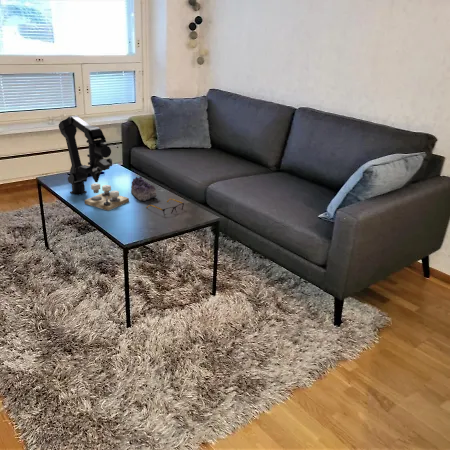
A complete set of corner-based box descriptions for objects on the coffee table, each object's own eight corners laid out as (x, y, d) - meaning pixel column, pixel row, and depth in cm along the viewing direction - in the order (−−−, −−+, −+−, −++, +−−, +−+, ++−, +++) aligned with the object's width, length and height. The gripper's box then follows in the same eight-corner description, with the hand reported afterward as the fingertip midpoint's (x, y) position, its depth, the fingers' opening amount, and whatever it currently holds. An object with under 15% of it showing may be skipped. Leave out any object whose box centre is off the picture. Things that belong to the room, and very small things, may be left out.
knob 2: (100, 193, 246) (100, 186, 244) (106, 191, 249) (106, 184, 248) (107, 195, 244) (106, 188, 242) (113, 193, 247) (112, 186, 246)
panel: (84, 203, 239) (84, 199, 238) (106, 195, 252) (105, 191, 251) (108, 210, 232) (108, 206, 231) (128, 201, 245) (128, 197, 244)
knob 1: (89, 192, 238) (89, 185, 236) (95, 190, 242) (95, 182, 240) (96, 194, 236) (95, 186, 234) (102, 191, 240) (102, 184, 238)
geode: (123, 192, 258) (124, 174, 255) (142, 191, 265) (143, 174, 262) (139, 202, 243) (140, 184, 240) (158, 201, 250) (160, 183, 247)
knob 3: (108, 199, 239) (108, 192, 237) (114, 197, 242) (114, 189, 241) (115, 201, 237) (114, 194, 235) (121, 198, 240) (120, 191, 239)
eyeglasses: (164, 216, 230) (164, 209, 228) (146, 208, 238) (146, 201, 237) (185, 210, 239) (185, 203, 238) (167, 202, 248) (167, 195, 247)
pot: (103, 204, 233) (103, 197, 232) (106, 203, 235) (106, 195, 233) (107, 205, 232) (106, 198, 231) (110, 204, 234) (110, 196, 232)
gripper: (93, 160, 219) (95, 190, 226) (119, 152, 234) (120, 180, 241) (76, 155, 224) (78, 185, 230) (103, 148, 239) (104, 176, 246)
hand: (96, 182), depth 237 cm, fingers closed
